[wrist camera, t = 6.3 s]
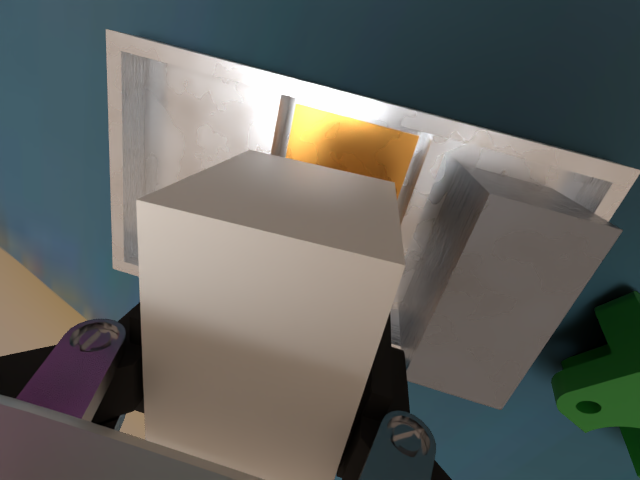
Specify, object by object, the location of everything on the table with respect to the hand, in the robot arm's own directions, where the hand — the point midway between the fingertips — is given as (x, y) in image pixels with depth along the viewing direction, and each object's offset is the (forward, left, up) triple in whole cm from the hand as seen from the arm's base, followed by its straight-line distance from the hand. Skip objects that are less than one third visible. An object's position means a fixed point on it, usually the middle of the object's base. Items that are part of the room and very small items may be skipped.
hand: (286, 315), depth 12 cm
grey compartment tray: (0, 0, -10) cm, 10 cm away
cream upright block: (0, 0, -2) cm, 2 cm away
